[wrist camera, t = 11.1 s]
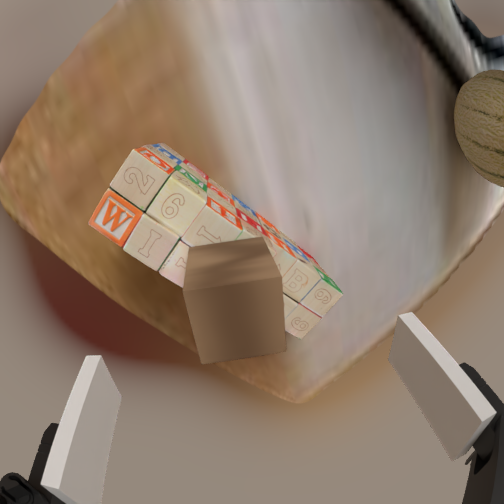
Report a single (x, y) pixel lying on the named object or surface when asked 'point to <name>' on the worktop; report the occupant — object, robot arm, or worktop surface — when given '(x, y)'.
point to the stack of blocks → (201, 229)
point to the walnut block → (234, 300)
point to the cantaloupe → (482, 124)
